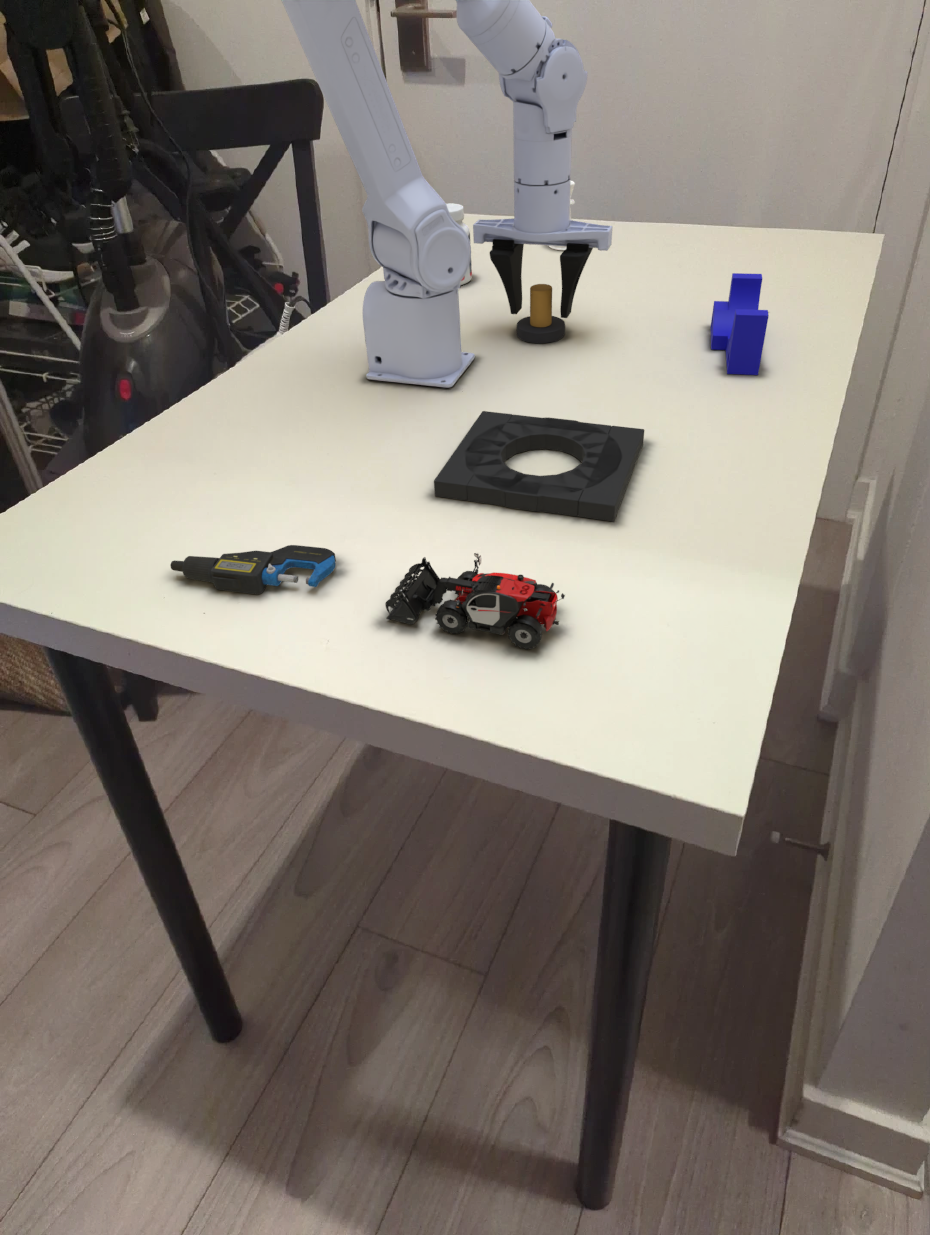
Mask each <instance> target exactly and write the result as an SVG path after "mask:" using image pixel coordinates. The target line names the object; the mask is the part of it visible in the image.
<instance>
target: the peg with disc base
mask: <svg viewBox="0 0 930 1235" xmlns="http://www.w3.org/2000/svg"><path fill="white" fill-rule="evenodd" d="M565 334H566V322H565V320H563V318H561V317H558V316H555V315H553V286H552V285H550V284H548V283H537V284H533V285H531V286H530V288H529V316H525V317H523V318H521V319H519V320H518V321H517V322H516V336H517V338H518V339H519V340H521V341H523V342H526V343H529V344H550V343H553V342H554V343H555V342H558V341H559V340H561V339H563V338H564V337H565Z"/></svg>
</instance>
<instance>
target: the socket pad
mask: <svg viewBox="0 0 930 1235" xmlns="http://www.w3.org/2000/svg"><path fill="white" fill-rule="evenodd" d="M644 438H645V429H644V428H639V427H638V428H637V427H630V426H629V427H628V426H619V425H610V424H601V423H593V422H584V421H578V420H574V419H566V418H556V417H547V416H546V417H539V416H530V415H522V414H521V415H520V414H512V413H505V412H497V411H486V410H483V411H481V413H480V414H479V416H477V418H476V419H475V421H474V423H473V424H472V426H471V427H470V428H469V430H468V431H467V433H465V436H464V437H463V439H462V440H461V441H460V442H459V444H458V446H457V447H456V449H455V450H454V451H453V452H452V454H451V455H450V457H449V458H448V460H447V461H446V462H445V464H444V466H443V467H442V468H441V470H440V471H439V472H438V474H437V476H436V477H435V479H433V487H434V488H433V489H434V497H439V498H444V499H453V500H459V501H466V502H467V501H468V502H473V503H479V504H485V505H493V506H500V507H504V508H508V509H509V508H510V509H514V510H515V509H517V510H522V511H529V512H537V513H538V512H540V513H547V514H548V513H551V514H556V515H564V516H571V517H579V518H587V519H593V520H599V521H607V522H615V520H616V517H617V514H618V512H619V509H620V506H621V504H622V501H623V498H624V497H625V494H626V490H627V488H628V486H629V482H630V480H631V478H632V475H633V472H634V470H635V466H636V463H637V461H638V459H639V456H640V453H641V452H642V449H643V445H644V440H645V439H644ZM537 450H550V451H560V452H563V453H565V454H568V455H571V456H574V457H575V458H576V459H577V460H579V461H580V462H581V463H580V464H578V465H577V466H575V467H574V468H573V469H570V470H566V471H564V472H560V473H557V474H547V475H546V474H545V475H537V474H529V473H523V472H520V471H518V470H515V469H513V468H511V467H510V466H508V465H507V464H506V463H505V462H506V461H507V460H508V459H510V458H512V457H513V456H515V455H517V454H521V453H524V452H528V451H537Z"/></svg>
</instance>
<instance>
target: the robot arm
mask: <svg viewBox="0 0 930 1235" xmlns="http://www.w3.org/2000/svg"><path fill="white" fill-rule="evenodd" d="M455 1H456V24H457V26H458V27H459V29H460V30H461V31H462V32H463V34H464V35H465V36H466V37H467V38H468V40H470V42H471V43H472V44H473V45H474V46H475V47H476V48H477V50H478V51H479V52H480V53H481V54H482V55H483V56H484V58H485V59H486V60H487V61H488V63H490V65H491V66H492V67H493V68H494V69H495V71H497V73H498V81H499V86H500V90H501V92H502V95H503V96H504V97H505V98H507V99H509V100H510V101H512V112H513V113H512V116H513V117H512V118H513V120H512V121H513V125H512V126H513V209H514V210H513V218H499V219H498V218H497V219H481V218H480V219H477V221H475V223H473V224H472V233H473V236H472V237H473V244H479V245H482V244H484V243H492V246H491V250H490V251H489V258H490V261H491V262H492V264H493V266H494V267H495V269H496V271H497V273H498V275H499V278H500V280H501V282H502V285H503V288H504V291H505V293H506V294H505V295H506V296H507V301H508V305H509V310H510V314H511V315H518V313H519V312H520V311H521V309H522V308H523V282H522V274H523V273H522V271H523V256H524V246H525V245H535V246H536V245H537V246H548V245H551V246H567V248H566V250H562V253H561V254H560V255H559V263H560V275H561V296H560V309H559V310H560V311H559V314H560V318H561V319H568V318H569V317H570V314H571V313H572V309H573V303H574V299H575V295H576V294H575V293H576V291H577V287H578V284H579V281H580V279H581V277H582V274H583V271H584V268H585V266H586V264H587V262H588V259H589V257H590V255H591V253H592V251H593V249H597V250H598V251H603V252H605V251H606V252H608V251H609V249H610V248H611V246H612V243H613V242H612V240H613V225H607V224H606V225H605V224H598V223H597V224H596V223H591V222H584V221H578V220H572V219H571V220H569V215H570V209H571V205H570V180H571V178H572V177H571V176H572V142H573V129H574V127H575V126H574V125H575V123H576V122H577V108H578V105H579V102H580V101H581V98H582V97H583V95H584V92H585V90H586V86H587V81H588V74H589V72H588V70H586V69H584V62H583V59H582V57H581V54H580V52H579V50H578V48H577V47H576V45H575V44H574V43H573V42H571V41H570V40H567V39H563V38H557V37H556V35H555V32H554V30H553V29H552V28H553V23H552V21H551V20H550V19H549V17H548V16H545V15H541V13H540V12H539V10H538V9H537V7H536V6H534V4H533V3H532V1H531V0H455ZM281 3H282V5H283V7H284V9H285V13H286V14H287V16H288V18H289V21H290V23H291V26H292V28H293V30H294V32H295V34H296V37H297V40H298V41H299V44H300V46H301V48H302V51H303V53H304V55H305V57H306V59H307V62H308V64H309V66H310V68H311V71H312V73H313V76H314V78H315V80H316V82H317V84H318V87H319V89H320V91H321V93H322V96H323V98H324V101H325V102H326V105H327V107H328V110H329V111H330V114H331V116H332V118H333V121H334V123H335V126H336V128H337V130H338V132H339V135H340V137H341V139H342V141H343V143H344V146H345V147H346V150H347V152H348V155H349V157H350V159H351V161H352V163H353V166H354V168H355V171H356V173H357V175H358V177H359V180H360V182H361V184H362V186H363V188H364V191H365V193H366V195H367V196H366V199H365V202H364V203H363V205H362V208H361V211H362V215H363V216H364V218H365V222H366V224H367V230H368V247H369V251H370V254H371V256H372V258H373V260H374V261H375V262H376V263H377V264H378V265H379V266H380V267H381V268H382V271H383V279H384V280H375V281H372V282H371V283H370V284H369V285H368V287H367V289H366V291H365V293H364V297H363V301H362V302H363V303H362V325H363V333H364V341H365V349H366V357H367V364H368V372H367V373H366V376H365V377H366V379H367V380H370V381H371V380H372V381H383V382H390V383H399V384H408V385H409V384H410V385H421V386H428V387H438V388H453V386H454V385H455V384H456V382H457V381H458V380H459V379H460V377H461V376H462V375H463V374H464V372H465V371H466V370H467V369H468V367H469V366H470V365H471V364H472V362H473V361H474V360H475V358H476V354H475V353H474V352H467V351H463V350H462V333H461V315H460V314H461V313H460V312H461V311H460V294H459V293H460V292H459V289H461V285H460V281H461V280H462V279H463V277H464V276H465V274H466V272H467V270H468V267H469V264H470V260H471V261H472V245H471V239H470V240H469V237H468V235H467V233H466V232H465V230H464V229H463V228H462V227H461V226H460V225H459V224H457V223H456V222H455V221H454V220H453V218H452V217H451V215H450V213H449V211H448V208H447V205H446V204H447V203H446V201H445V200H444V199H443V198H442V197H441V195H439V193H438V192H437V191H436V190H435V189H434V187H433V186H432V185H431V184H430V183H429V181H427V180H426V178H425V177H424V175H423V172H422V169H421V167H420V165H419V162H418V159H417V157H416V154H415V152H414V149H413V147H412V146H413V145H412V143H411V141H410V139H409V135H408V133H407V131H406V128H405V125H404V123H403V121H402V118H401V115H400V113H399V110H398V107H397V104H396V102H395V99H394V97H393V94H392V92H391V89H390V87H389V84H388V82H387V79H386V77H385V74H384V71H383V68H382V66H381V62H380V61H379V58H378V56H377V53H376V50H375V48H374V45H373V42H372V40H371V37H370V34H369V32H368V30H367V27H366V25H365V22H364V19H363V17H362V13H361V11H360V9H359V5H358V3H357V0H281ZM571 181H572V180H571Z"/></svg>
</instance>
